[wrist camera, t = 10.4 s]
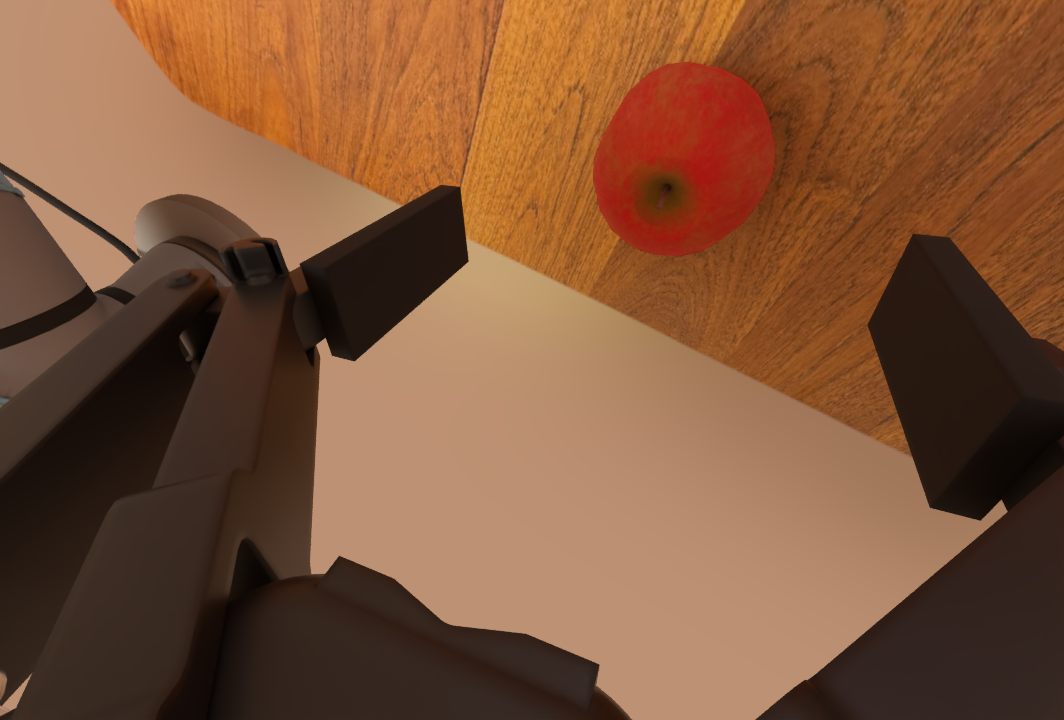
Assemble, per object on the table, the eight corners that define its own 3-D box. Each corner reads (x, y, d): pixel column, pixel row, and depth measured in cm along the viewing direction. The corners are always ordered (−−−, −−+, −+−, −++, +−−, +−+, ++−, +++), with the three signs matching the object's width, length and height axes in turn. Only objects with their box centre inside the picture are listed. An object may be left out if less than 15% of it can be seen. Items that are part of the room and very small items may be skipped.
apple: (633, 46, 24) (572, 65, 16) (802, 66, 22) (830, 99, 14) (606, 202, 29) (550, 275, 21) (740, 230, 27) (735, 322, 19)
